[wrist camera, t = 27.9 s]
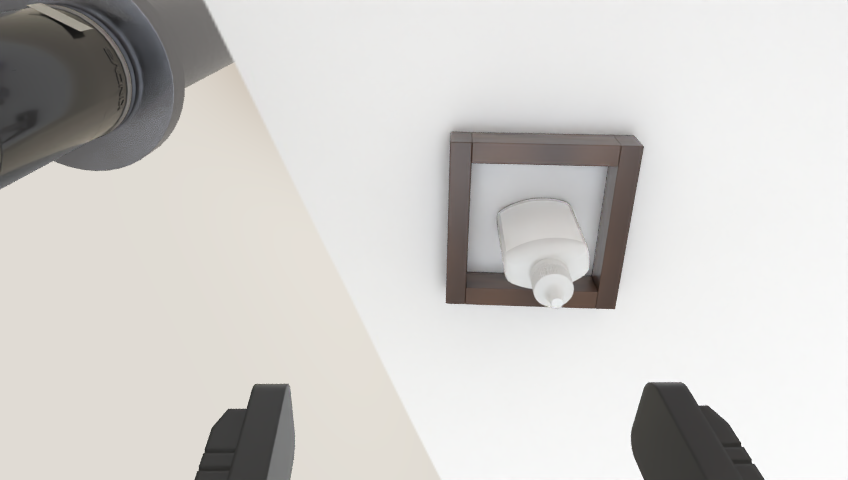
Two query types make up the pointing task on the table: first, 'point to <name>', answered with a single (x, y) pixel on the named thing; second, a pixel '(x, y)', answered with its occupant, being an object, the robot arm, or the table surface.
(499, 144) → the brown wooden square frame
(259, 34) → the table surface
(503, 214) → the eye dropper bottle
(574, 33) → the table surface
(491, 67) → the table surface
